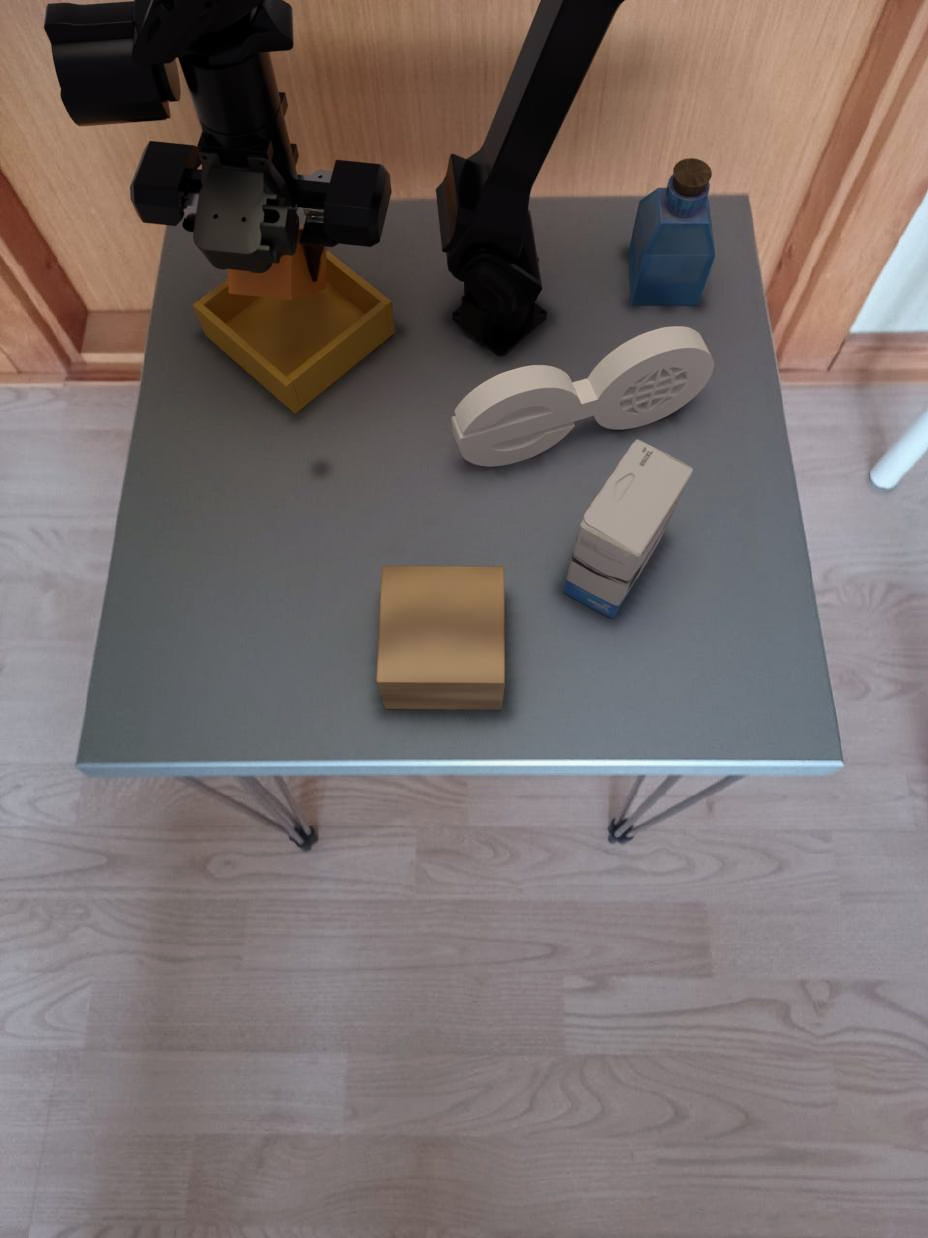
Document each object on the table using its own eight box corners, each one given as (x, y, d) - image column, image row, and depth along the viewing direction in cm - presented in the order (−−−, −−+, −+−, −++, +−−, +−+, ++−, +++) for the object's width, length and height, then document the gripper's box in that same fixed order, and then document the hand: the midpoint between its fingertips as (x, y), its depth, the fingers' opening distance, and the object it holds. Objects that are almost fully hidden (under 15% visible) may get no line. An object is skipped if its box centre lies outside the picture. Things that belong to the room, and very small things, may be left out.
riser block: (390, 601, 70) (381, 565, 64) (501, 602, 70) (504, 565, 64) (385, 709, 67) (375, 682, 61) (501, 710, 67) (505, 683, 60)
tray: (305, 259, 83) (297, 226, 79) (395, 332, 80) (391, 301, 76) (205, 335, 80) (192, 304, 76) (295, 414, 77) (285, 385, 73)
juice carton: (270, 222, 75) (226, 223, 65) (326, 227, 75) (291, 229, 65) (270, 283, 77) (228, 293, 67) (325, 289, 77) (291, 299, 67)
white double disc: (686, 390, 78) (716, 312, 68) (696, 409, 77) (728, 333, 67) (452, 457, 75) (450, 386, 66) (460, 478, 74) (459, 410, 65)
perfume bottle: (698, 305, 81) (734, 201, 70) (631, 305, 81) (656, 200, 70) (692, 253, 83) (726, 144, 72) (627, 253, 83) (652, 144, 72)
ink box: (613, 622, 70) (640, 559, 59) (559, 592, 71) (576, 524, 60) (662, 540, 72) (697, 465, 61) (609, 512, 73) (634, 434, 62)
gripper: (68, 179, 56) (151, 339, 71) (350, 209, 55) (376, 365, 70) (117, 60, 60) (187, 234, 75) (382, 85, 59) (400, 257, 74)
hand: (285, 274), depth 73 cm, fingers closed on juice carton, 5 cm apart
